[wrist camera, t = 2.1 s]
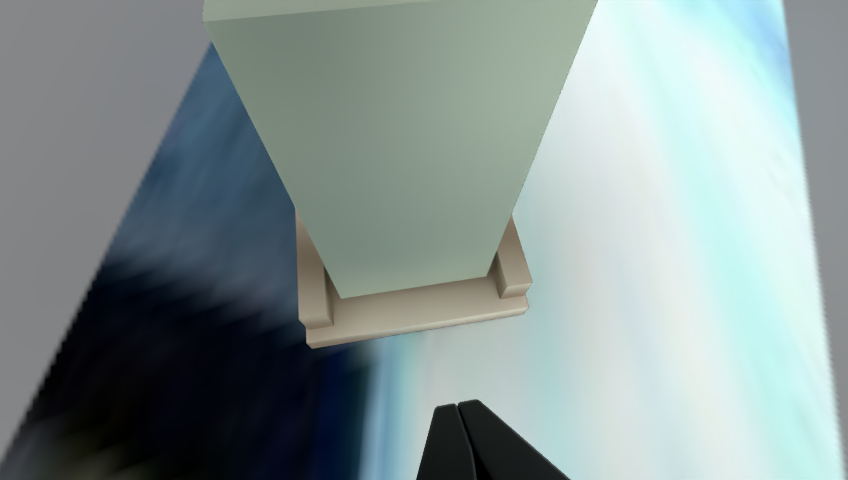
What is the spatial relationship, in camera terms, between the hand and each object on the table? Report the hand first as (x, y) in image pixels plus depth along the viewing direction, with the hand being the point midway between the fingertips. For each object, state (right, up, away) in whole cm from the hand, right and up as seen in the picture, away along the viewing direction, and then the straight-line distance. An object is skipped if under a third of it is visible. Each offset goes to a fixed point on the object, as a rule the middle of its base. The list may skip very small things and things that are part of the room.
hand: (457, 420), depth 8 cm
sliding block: (-1, +4, +10) cm, 11 cm away
